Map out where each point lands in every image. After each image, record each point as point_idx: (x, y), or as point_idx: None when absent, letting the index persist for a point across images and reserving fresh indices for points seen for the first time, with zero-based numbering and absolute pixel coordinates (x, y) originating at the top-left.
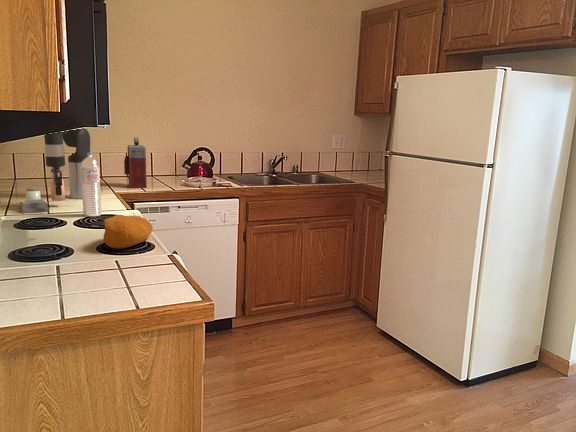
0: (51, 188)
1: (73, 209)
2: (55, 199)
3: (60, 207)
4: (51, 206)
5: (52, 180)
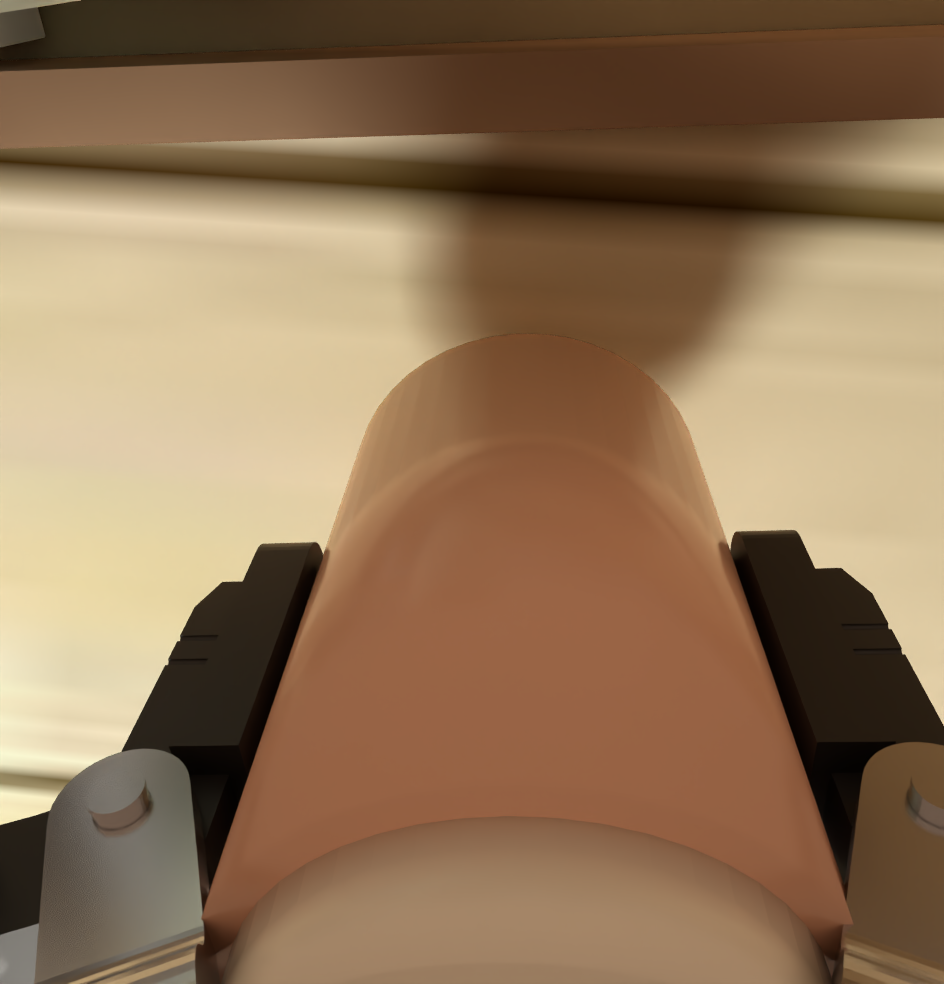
0: (408, 565)
1: (80, 605)
2: (366, 437)
3: (363, 428)
4: (567, 259)
5: (285, 966)
